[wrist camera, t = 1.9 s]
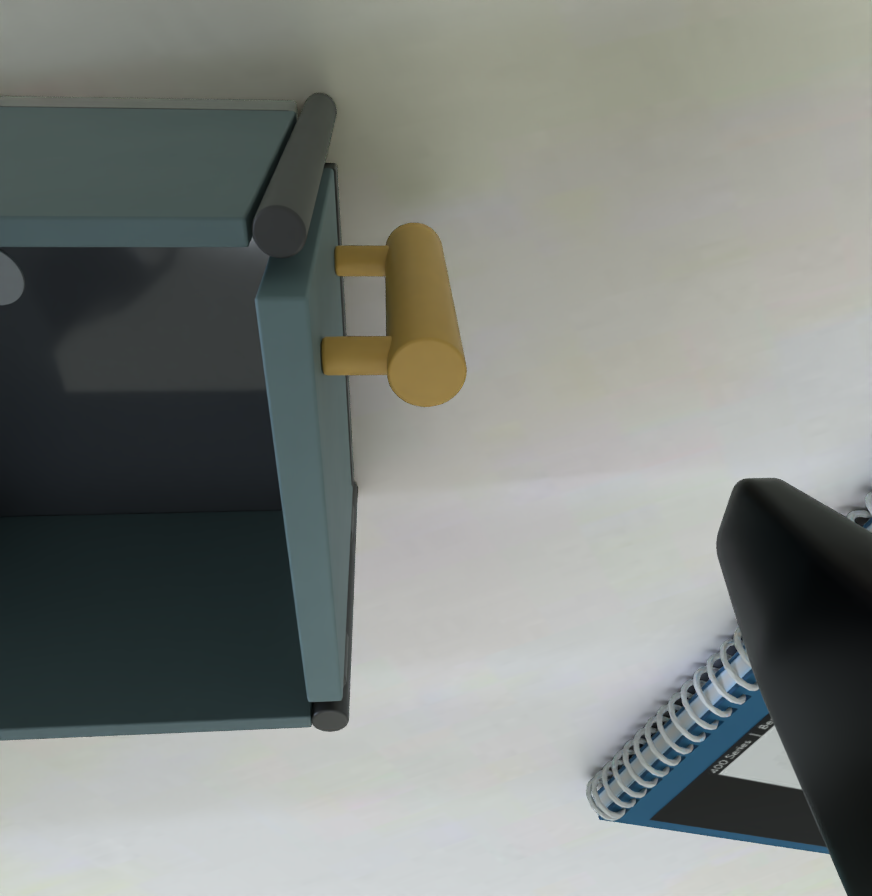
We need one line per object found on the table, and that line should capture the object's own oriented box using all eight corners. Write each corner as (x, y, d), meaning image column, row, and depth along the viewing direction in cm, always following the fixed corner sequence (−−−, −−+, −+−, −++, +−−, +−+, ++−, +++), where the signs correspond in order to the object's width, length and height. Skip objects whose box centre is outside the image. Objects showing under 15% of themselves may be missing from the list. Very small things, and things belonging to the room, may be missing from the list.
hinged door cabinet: (358, 497, 22) (349, 731, 16) (-9, 505, 21) (-178, 754, 15) (338, 92, 15) (308, 205, 9) (-194, 84, 15) (-646, 201, 8)
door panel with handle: (431, 501, 20) (451, 713, 15) (326, 504, 20) (307, 719, 15) (441, 163, 15) (477, 297, 9) (298, 162, 15) (249, 297, 9)
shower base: (328, 493, 22) (326, 520, 21) (-10, 500, 21) (-30, 529, 20) (296, 99, 15) (290, 111, 14) (-191, 92, 15) (-234, 103, 14)
